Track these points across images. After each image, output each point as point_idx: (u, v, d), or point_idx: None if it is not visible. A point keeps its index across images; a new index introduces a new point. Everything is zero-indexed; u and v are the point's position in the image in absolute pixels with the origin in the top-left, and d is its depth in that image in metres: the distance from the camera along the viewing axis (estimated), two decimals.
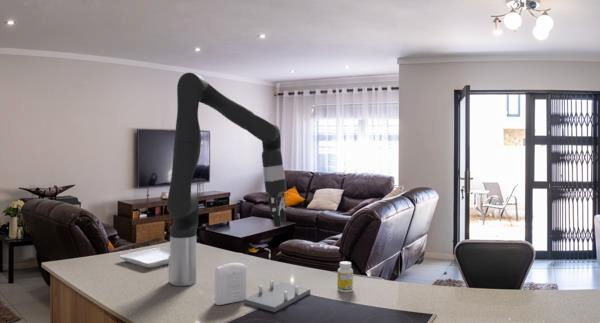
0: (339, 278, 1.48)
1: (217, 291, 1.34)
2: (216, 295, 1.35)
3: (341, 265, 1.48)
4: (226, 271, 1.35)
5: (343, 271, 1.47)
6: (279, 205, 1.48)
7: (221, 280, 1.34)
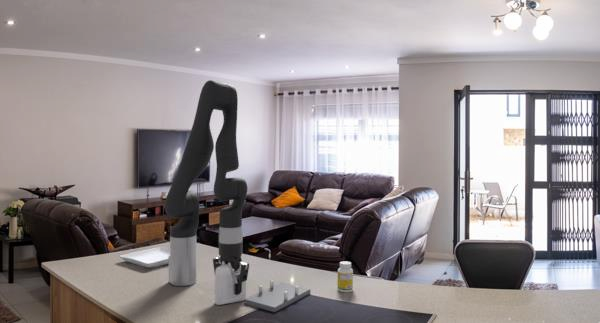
0: (339, 278, 1.48)
1: (217, 291, 1.34)
2: (216, 295, 1.34)
3: (341, 265, 1.48)
4: (226, 270, 1.35)
5: (343, 271, 1.47)
6: None
7: (221, 280, 1.34)
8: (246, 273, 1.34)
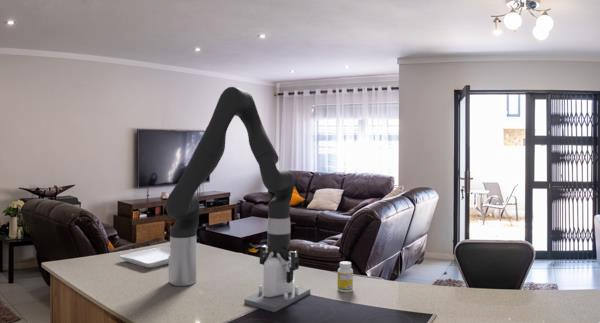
0: (339, 278, 1.48)
1: (267, 284, 1.37)
2: (266, 287, 1.37)
3: (341, 265, 1.48)
4: (275, 263, 1.37)
5: (343, 271, 1.47)
6: (268, 257, 1.41)
7: (271, 273, 1.37)
8: (297, 261, 1.37)
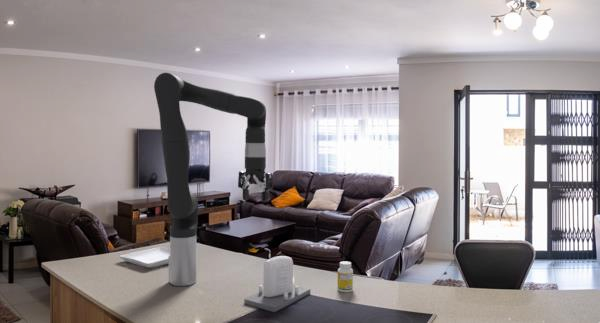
0: (339, 278, 1.48)
1: (267, 284, 1.37)
2: (266, 287, 1.37)
3: (341, 265, 1.48)
4: (275, 263, 1.37)
5: (343, 271, 1.47)
6: None
7: (271, 273, 1.37)
8: (271, 181, 1.50)
